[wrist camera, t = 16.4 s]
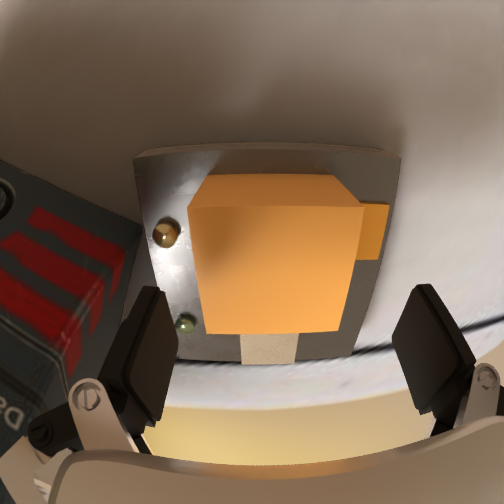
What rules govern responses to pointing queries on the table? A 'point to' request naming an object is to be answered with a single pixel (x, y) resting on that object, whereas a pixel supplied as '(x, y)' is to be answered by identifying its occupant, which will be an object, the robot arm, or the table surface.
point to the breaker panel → (259, 162)
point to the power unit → (54, 296)
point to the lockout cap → (273, 251)
